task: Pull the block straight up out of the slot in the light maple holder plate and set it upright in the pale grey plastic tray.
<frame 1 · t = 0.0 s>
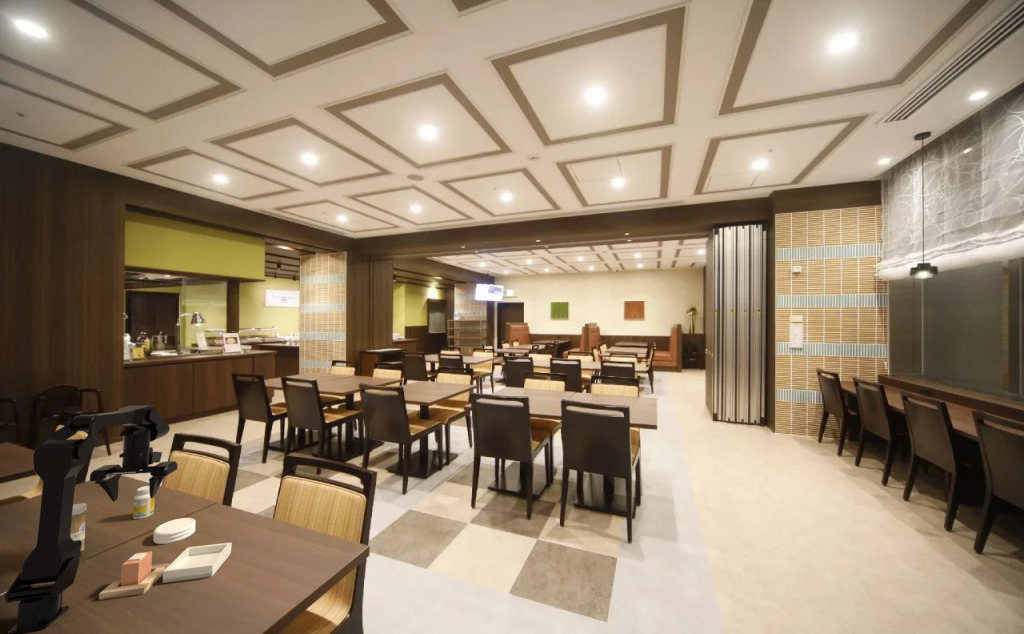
hand: (133, 499, 112), 15 cm above the table, tool pointing down, fingers open, 9 cm apart
coaster: (174, 536, 119), on the table
sprinkles bottle: (72, 553, 109), on the table
tray: (199, 566, 104), on the table
holder: (136, 583, 97), on the table
block: (136, 569, 97), in the holder
supplement bottle: (143, 516, 130), on the table
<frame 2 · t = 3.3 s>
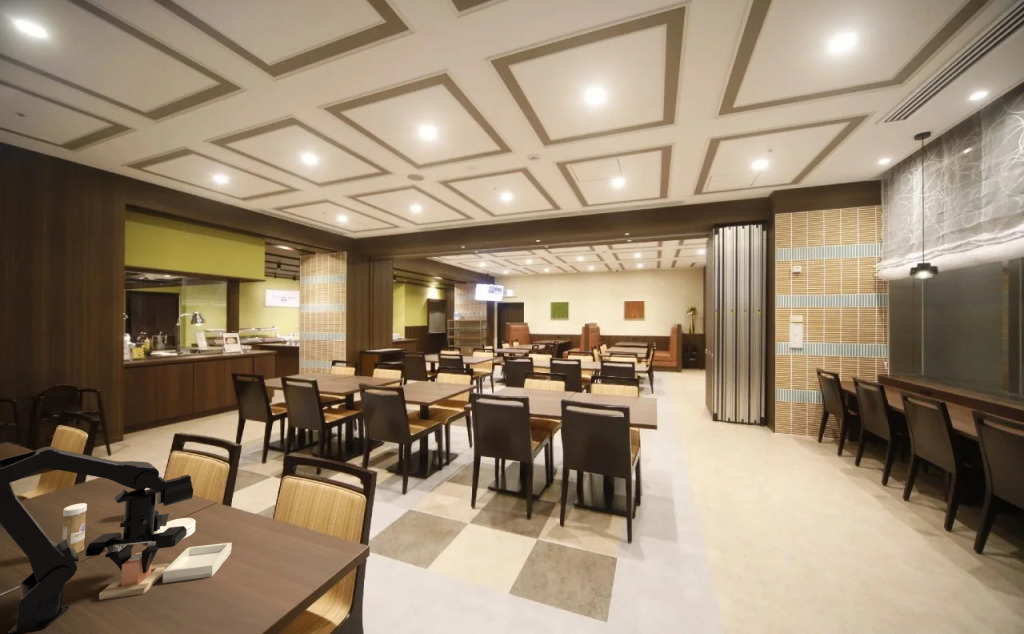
hand: (136, 573, 97), 3 cm above the table, tool pointing down, fingers closed on block, 3 cm apart
block: (136, 569, 97), in the holder, touching gripper
everything else where it was.
when the fingers open (5 cm above the table, at t = 8.4 s): block drops 1 cm, resting on tray.
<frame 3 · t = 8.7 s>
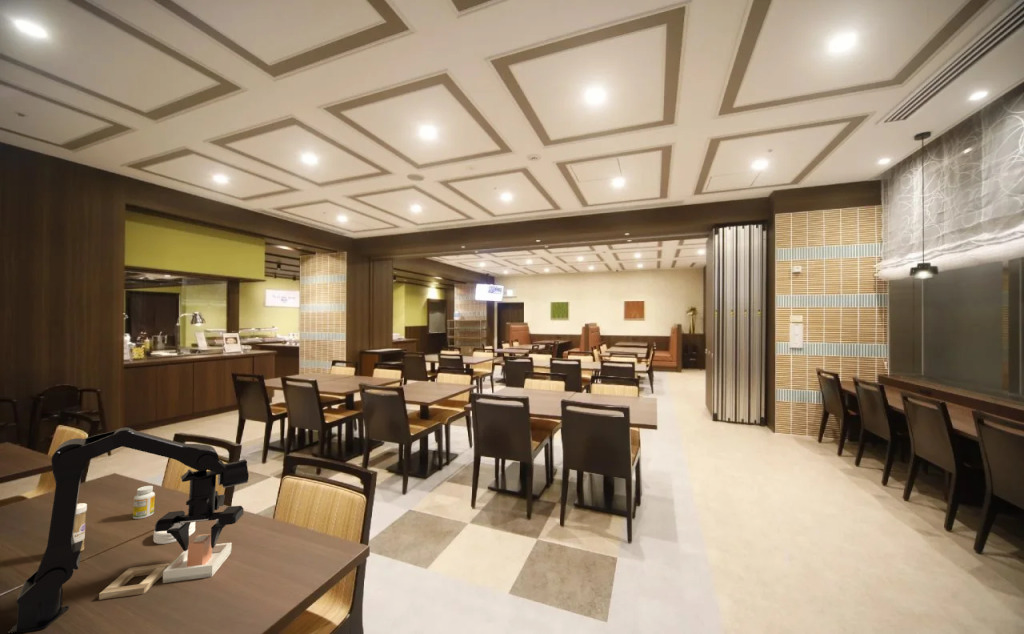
hand: (199, 548, 104), 5 cm above the table, tool pointing down, fingers open, 6 cm apart
block: (200, 550, 104), in the tray, point 4 cm above the table
everything else where it was.
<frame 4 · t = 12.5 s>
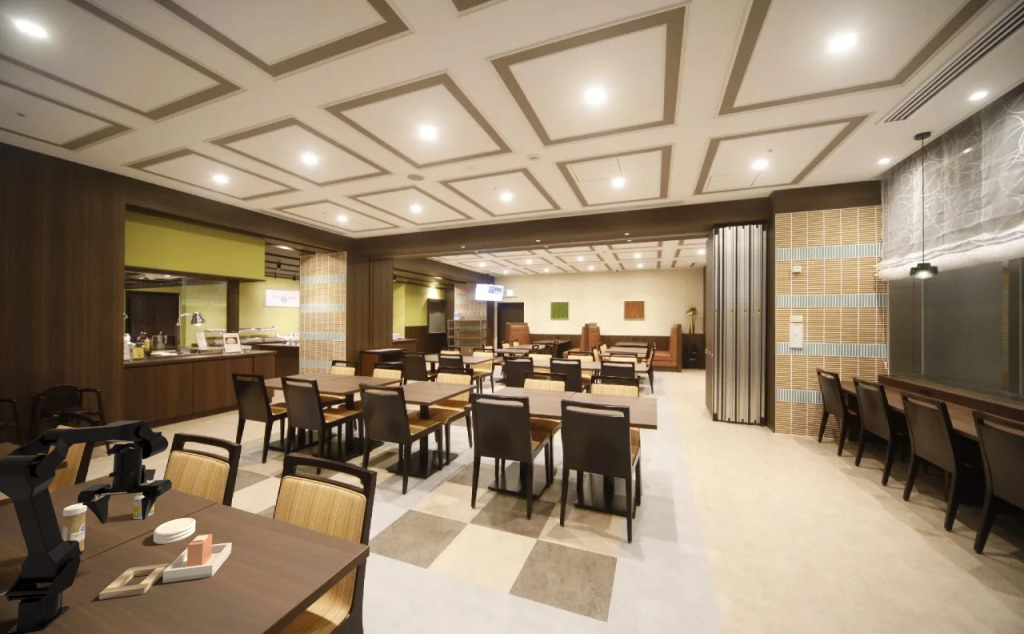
hand: (124, 521, 104), 12 cm above the table, tool pointing down, fingers open, 9 cm apart
nothing on the table moved.
at the end: block inside the target area on the tray (0.0 cm from its centre), point 4.5 cm above the tray's base; block tilted 0°; the gripper is holding nothing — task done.
